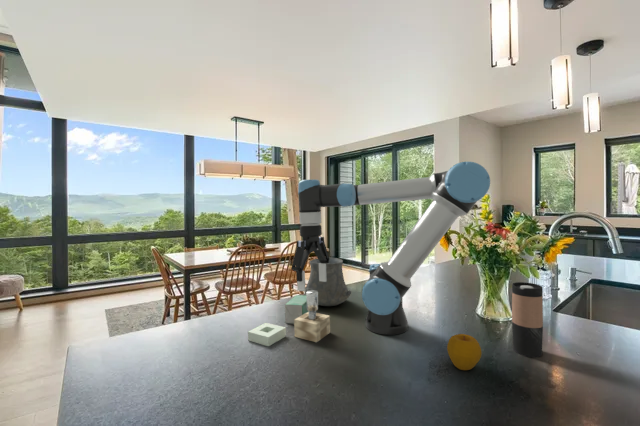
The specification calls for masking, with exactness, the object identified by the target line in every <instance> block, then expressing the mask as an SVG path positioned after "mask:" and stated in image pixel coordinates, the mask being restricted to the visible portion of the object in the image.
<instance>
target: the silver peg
mask: <svg viewBox="0 0 640 426" xmlns="http://www.w3.org/2000/svg"><path fill="white" fill-rule="evenodd" d="M306 300H307V310H309V320H313V321H314V320H316V313H317V311H318V310H319V305H318V291H315V290H310V291H307V292H306Z"/></svg>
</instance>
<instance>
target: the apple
mask: <svg viewBox="0 0 640 426" xmlns="http://www.w3.org/2000/svg"><path fill="white" fill-rule="evenodd" d="M446 347H447V348H446V349H447V353H448V354H447V355H448V356H449V359H450V361H451V362H452V364H453V365H454V367H456V368H457V369H458V370H461V371H469V370H472V369H473V368H474V367H476V366H477V364H478V362H480V359H481V358H482V354H483V353H482V348H481V345H480V343H479V342H478V340H477V339H476V338H474V336H472V335H469V334H465V333H458V334H454V335H451V337H450V338H449V339H448V342H447V346H446Z"/></svg>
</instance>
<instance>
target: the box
mask: <svg viewBox="0 0 640 426" xmlns="http://www.w3.org/2000/svg"><path fill="white" fill-rule="evenodd" d="M284 312H285V313H284V319H285V320H284V322H285V323H286V324H290V325H291V324H293V325H294V319H296V318H298V317H300V316H302V315H303V314H305V313H307V312H309V310H307V300H306V296H305V295H301V294H297V295H294V296H293V298H291V299H289V301H287V302H286V303H285V304H284Z"/></svg>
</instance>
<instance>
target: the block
mask: <svg viewBox="0 0 640 426" xmlns="http://www.w3.org/2000/svg"><path fill="white" fill-rule="evenodd" d="M293 325H294V326H293V327H294V337H295V338H299V339H302V340H306V341H310V342H314V343H318V342H319V341H321V340H322V339H324V338H325V337H327V336H328V335H329V334H330V333H331V315H328V314H323V313H319V312H316V320H314V321H313V320H309V312H307V313H305V314H303V315H302V316H300V317H298V318H296V319H294V324H293Z"/></svg>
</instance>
